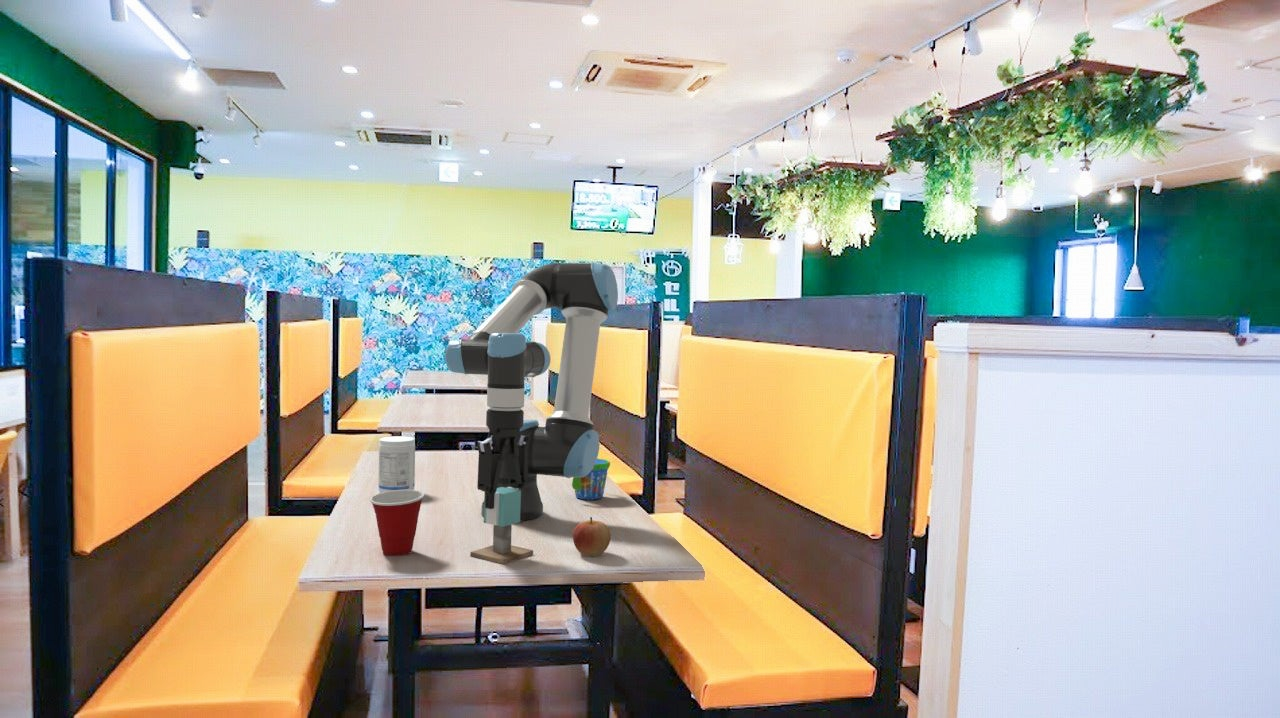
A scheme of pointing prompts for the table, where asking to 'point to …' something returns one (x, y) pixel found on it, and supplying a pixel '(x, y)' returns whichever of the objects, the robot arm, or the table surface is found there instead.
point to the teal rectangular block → (507, 506)
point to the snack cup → (592, 482)
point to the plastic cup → (397, 519)
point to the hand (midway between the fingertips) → (502, 521)
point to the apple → (591, 537)
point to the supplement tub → (396, 463)
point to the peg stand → (501, 547)
